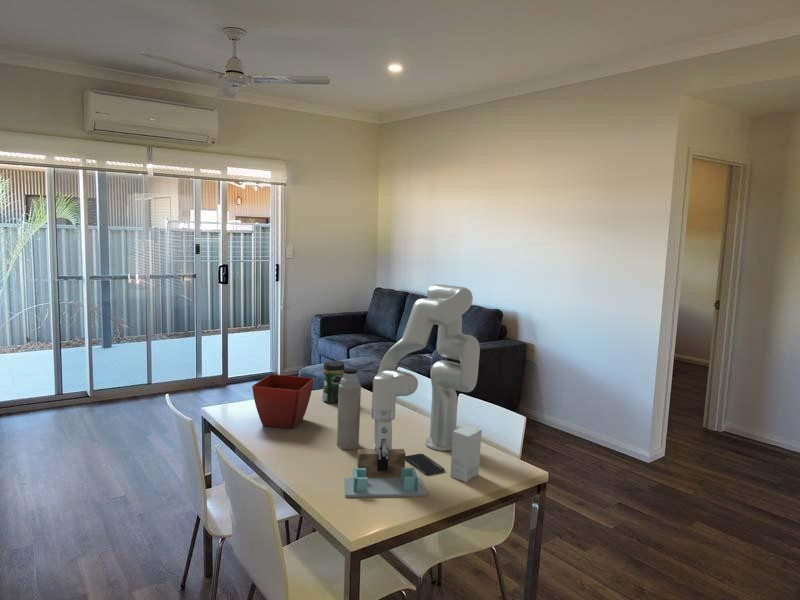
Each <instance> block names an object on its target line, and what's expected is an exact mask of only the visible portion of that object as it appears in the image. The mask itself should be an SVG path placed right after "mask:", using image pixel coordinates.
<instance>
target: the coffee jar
mask: <svg viewBox="0 0 800 600" xmlns="http://www.w3.org/2000/svg"><path fill="white" fill-rule="evenodd" d="M344 369H346V368H345V363H344V361H343V360H330V361H329V360H328V361H327V360H326V361H324V363H323V368H322V370H323V374H324V380H323V381H324V382H323V389H322V390H323V391H322V401H323V402H325V403H329V404H331V403H332V404H333V403H334V404H336V403H338V393H339V384H341V382H340V381H341V378H343V375H344V372H343V370H344Z"/></svg>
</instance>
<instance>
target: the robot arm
mask: <svg viewBox="0 0 800 600" xmlns="http://www.w3.org/2000/svg"><path fill="white" fill-rule="evenodd" d="M426 297H427V298H426ZM426 297H422V298H418V299H417V300H416V301H415V302H414V303H413V306H412V309H411V311H410V314H409V317H408V320H407V322H406V326H405V329H404V331H403V334H402V337H401V338H400V339H399V340H398V341H397V342H396V343H394V344H393V345H392V346H391V347H390V348H389V349H388V350H387V351H386V353H384V355H383V358H382V359H381V362H380V364H379V367H378V370H377V374H376V375H375V376H374V377H373V380H372V395H371V396H372V399H371V419H372V420H374V444H375V447H374V449H376V450H377V451H379V458H378V465H377V470H378V471H387V470H388V451H391V450H392V449H393V447H392V446H393V421H394V420H395V419H396V402H397V401H396V400H397V397H408V396H411V395H413V394H414V393H415V392H416V391H417V389H418V387H419V381H418V378H417V377H416V376H415V375H414V374H412V373H410V372H408V371H407V372H406V371H402V370H399V369H396V367H397V365H398V363H399V362H400V360H401V359H402V358H403V357H405V356H406V355H408V354H411V353H414V352H416V351H420V350H423V349H425V348H426V346H427V344H428V341H429V338H430V335H431V332H432V330H433V327H434V325H436V326H437V325H438V328H437V339H436V351H437V353H438V355H439V356H441V357H444V358H447V359H452V360H455V361H459V362H460V363H458V362H454V361H450V360H438V361H436V362H434V363H433V365H432V366H431V368H430V375H429V376H430V381H431V409H430V424H429V425H430V427H429V428H430V430H429V437H427V438H426V439H425V446H427V448H429V449H433V450H436V451H442V452H443V451H445V452H446V451H447V452H448V451H452V440H453V431H455V430H457V422H458V421H457V420H458V419H457V418H458V406H459V405H458V404H459V400H458V394H457V392H458V391H459V392H463V393H470V392H472V391H474V389H475V387H476V386H477V382H478V375H479V365H480V354H481V353H480V349H481V347H480V344H479V340H478V339H477V338H476V337H475V336H473V335H469V334H465V333H463V330H462V329H463V318H462V317H463V316H462V315H464V314H465V313H466V312H468V310H469V309H470V307H471V306H472V304H473V301H474V299H473V293H472V292H471V290H470V289H469V288H467V287H465V286H456V285H449V284H432V285H430V286H429V287H428V288H427V293H426ZM456 391H457V392H456ZM387 449H388V450H387ZM381 452H382V453H381Z"/></svg>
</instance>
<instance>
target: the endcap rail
mask: <svg viewBox="0 0 800 600" xmlns="http://www.w3.org/2000/svg"><path fill="white" fill-rule="evenodd" d="M343 482H344V483H343V485H344V497H345V498H386V497H387V498H390V497H391V498H392V497H396V498H397V497H398V498H399V497H404V498H406V497H427V491H426V489H425V486H424V483H423V480H422V478H421V477H418V475H417V471H416V468H415V467H405V468H401V474H400V477H367V475H366V468H357V467H356V468H355V467H354V468H352V478H350V477H348V478H347V477H346V478H344V479H343Z"/></svg>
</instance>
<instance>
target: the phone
mask: <svg viewBox="0 0 800 600" xmlns="http://www.w3.org/2000/svg"><path fill="white" fill-rule="evenodd" d="M405 462H407V463H408V464H409V465H410V466H412V468H414V469H415V470H418V471H419V472H420V473H421V474H423V475H424V476H431V475H436V474H437V475H438V474H442V473H445V468H444V467H443V466H442V465H440V464H438V463H437V462H436V461H434V459H433V460H432V459H431V458H430V457H428V456H427V455H425V454H424V453H416V454H410V455H405Z"/></svg>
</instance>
